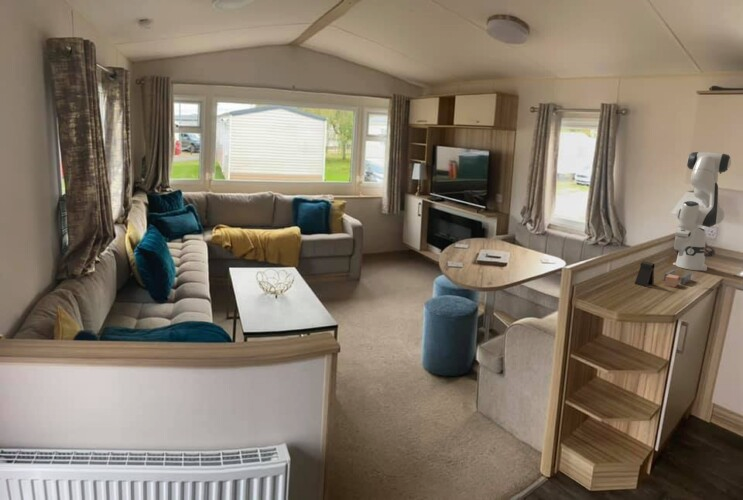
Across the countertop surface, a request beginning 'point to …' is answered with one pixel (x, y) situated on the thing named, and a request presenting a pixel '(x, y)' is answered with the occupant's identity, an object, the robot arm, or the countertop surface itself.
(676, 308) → the countertop surface
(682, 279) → the channel
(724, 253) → the countertop surface
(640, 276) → the phone stand
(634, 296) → the countertop surface
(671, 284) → the block
